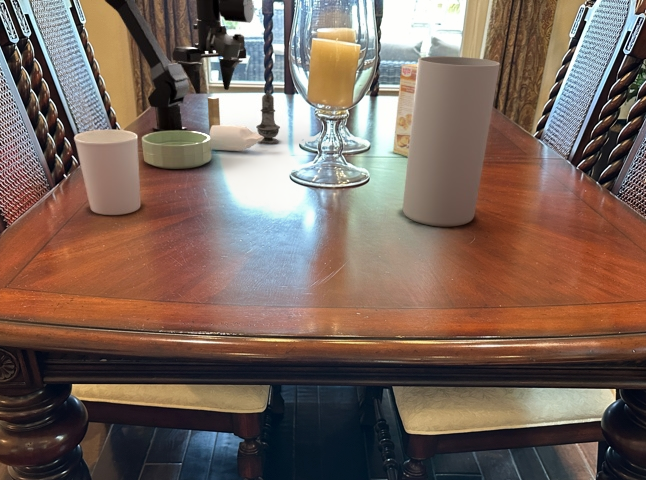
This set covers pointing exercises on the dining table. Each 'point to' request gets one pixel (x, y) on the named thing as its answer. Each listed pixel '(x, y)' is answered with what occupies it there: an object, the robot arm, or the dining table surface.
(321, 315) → the dining table surface
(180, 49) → the robot arm
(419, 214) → the cylinder vase
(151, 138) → the bowl
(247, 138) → the white milk carton
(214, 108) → the stick
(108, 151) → the white cup
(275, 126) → the salt shaker
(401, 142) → the coffeecake box
